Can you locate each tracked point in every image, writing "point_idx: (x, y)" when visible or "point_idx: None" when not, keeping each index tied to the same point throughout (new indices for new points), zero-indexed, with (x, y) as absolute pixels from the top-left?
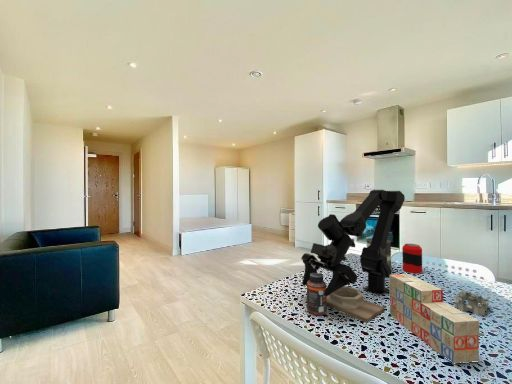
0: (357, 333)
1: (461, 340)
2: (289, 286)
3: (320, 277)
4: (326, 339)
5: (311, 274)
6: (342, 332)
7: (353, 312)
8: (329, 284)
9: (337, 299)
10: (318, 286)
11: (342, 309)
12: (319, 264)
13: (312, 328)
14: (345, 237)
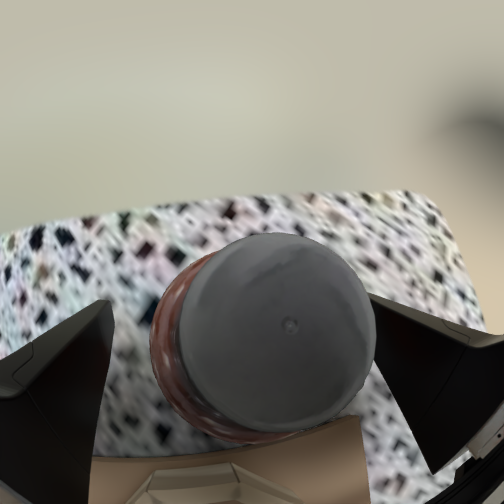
0: (13, 348)
1: None
2: None
3: (180, 318)
4: (58, 226)
5: (331, 270)
6: (42, 308)
7: (95, 471)
8: (57, 341)
9: (183, 481)
10: (169, 288)
11: (145, 461)
12: (471, 493)
13: (125, 233)
14: None
